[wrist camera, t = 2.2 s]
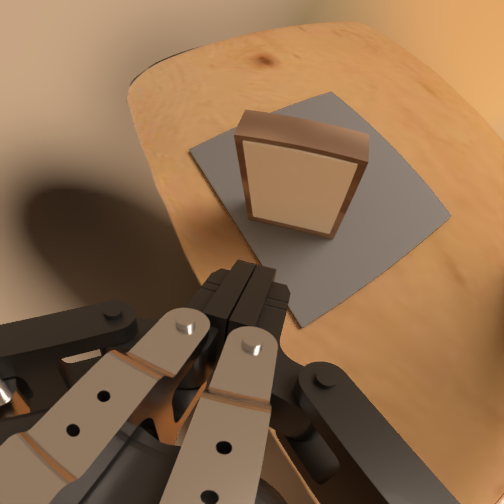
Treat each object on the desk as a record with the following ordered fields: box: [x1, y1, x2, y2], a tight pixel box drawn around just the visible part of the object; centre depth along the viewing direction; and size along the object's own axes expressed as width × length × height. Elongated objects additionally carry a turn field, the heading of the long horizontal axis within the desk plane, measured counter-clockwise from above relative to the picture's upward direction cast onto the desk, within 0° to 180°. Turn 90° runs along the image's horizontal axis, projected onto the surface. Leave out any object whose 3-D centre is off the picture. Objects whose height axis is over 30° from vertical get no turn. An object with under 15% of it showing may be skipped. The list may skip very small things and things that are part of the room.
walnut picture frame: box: [234, 110, 369, 239], centre depth 26 cm, size 3×10×14 cm, turn 74°
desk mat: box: [189, 92, 451, 328], centre depth 34 cm, size 26×28×1 cm
